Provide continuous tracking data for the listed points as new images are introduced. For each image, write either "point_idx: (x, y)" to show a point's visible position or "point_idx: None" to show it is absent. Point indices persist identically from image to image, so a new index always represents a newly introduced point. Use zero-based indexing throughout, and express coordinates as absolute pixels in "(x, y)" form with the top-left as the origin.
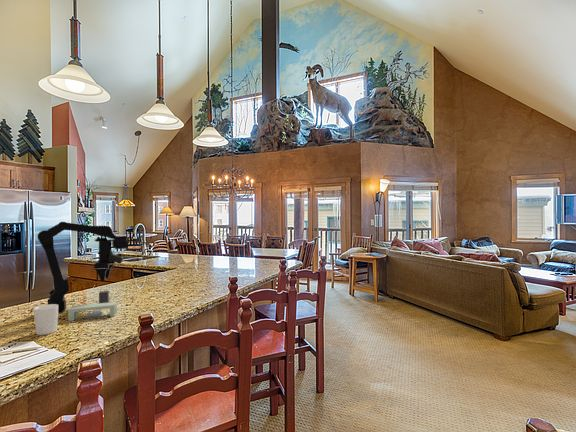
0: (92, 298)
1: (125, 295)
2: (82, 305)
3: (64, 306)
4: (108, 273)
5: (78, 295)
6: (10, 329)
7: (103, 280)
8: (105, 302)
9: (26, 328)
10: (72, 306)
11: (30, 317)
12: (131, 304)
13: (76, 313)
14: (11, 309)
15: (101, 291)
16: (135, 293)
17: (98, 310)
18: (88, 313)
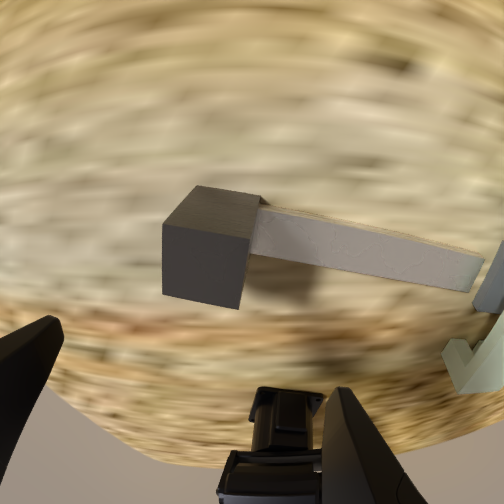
0: (64, 281)
1: (46, 89)
2: (492, 360)
3: (306, 407)
4: (13, 365)
5: (14, 323)
6: (420, 444)
7: (351, 403)
8: (268, 218)
9: (447, 424)
10: (468, 391)
11: (320, 443)
12: (396, 34)
13: (472, 352)
14: (172, 459)
15: (172, 288)
16: (26, 34)
17: (471, 265)
18: (487, 307)
